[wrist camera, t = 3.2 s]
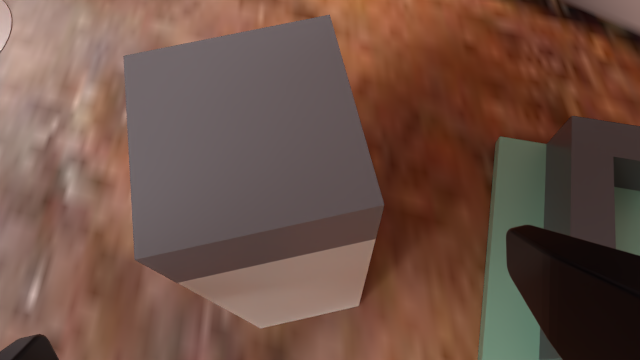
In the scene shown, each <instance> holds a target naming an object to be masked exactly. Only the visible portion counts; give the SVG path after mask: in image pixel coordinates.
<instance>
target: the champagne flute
mask: <svg viewBox="0 0 640 360" xmlns="http://www.w3.org/2000/svg"><path fill="white" fill-rule="evenodd" d="M11 21H12V18H11V14H10V10H9V8H8V7H7V5H6V3H5V2H4V1H3V0H0V51H1V50H2V48H3V47H4V45H5V43H6V41H7V39H8V37H9V34H10V30H11Z"/></svg>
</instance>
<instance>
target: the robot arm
mask: <svg viewBox="0 0 640 360" xmlns="http://www.w3.org/2000/svg"><path fill="white" fill-rule="evenodd" d="M506 261H507V269H508V272H509V275H510V277H511V279H512V280H513V282H514V284H515V285H516V287H517V289H518V291H519V292H520V294H521V296H522V297H523V299H524V301H525V302H526V304H527V306H528V307H529V309H530V311H531V312H532V314H533V316H534V318H535V319H536V321H537V323H538V324H539V326H540V328H541V329H542V331H543V333H544V334H545V336H546V337H547V339H548V340H549V342H550V343H551V345H552V346H553V348H554V349H555V350H556V352H557V353H558V354H559V356H560V357H561V358H562V360H640V256H639V255H636V254H632V253H628V252H625V251H621V250H618V249H614V248H611V247H607V246H604V245H600V244H597V243H593V242H589V241H586V240H582V239H579V238H575V237H572V236H568V235H565V234H561V233H558V232H554V231H550V230H547V229H543V228H540V227H536V226H533V225H522V226H518V227H513V228H510V229H509V230H508V231H507V233H506ZM0 360H59V359H58V357H57V355H56V353H55V351H54V349H53V348H52V346H51V344H50V342H49V340H48V339H47V337H46V336H44V335H41V334H37V335H33V336H28V337H24V338H20V339H18V340H16V341H15V342H13V343H12V344H10V345H9V346H7V347H6V348H5V349H3V350H2V351H0Z"/></svg>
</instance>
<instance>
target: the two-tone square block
mask: <svg viewBox="0 0 640 360" xmlns="http://www.w3.org/2000/svg"><path fill="white" fill-rule="evenodd" d="M124 73H125V91H126V110H127V128H128V146H129V165H130V183H131V201H132V220H133V238H134V256H135V260H136V261H138V262H140V263H142V264H143V265H145V266H147V267H149V268H151V269H153V270H154V271H156V272H158V273H160V274H162V275H164V276H165V277H167V278H169V279H171V280H173V281H175V282H176V283H178V284H180V285H182V286H184V287H186V288H187V289H189V290H191V291H193V292H195V293H197V294H198V295H200V296H202V297H204V298H206V299H208V300H209V301H211V302H213V303H215V304H217V305H219V306H220V307H222V308H224V309H226V310H228V311H230V312H231V313H233V314H235V315H237V316H239V317H241V318H242V319H244V320H246V321H248V322H250V323H252V324H253V325H255V326H257V327H259V328H265V327H269V326H274V325H278V324H282V323H287V322H291V321H296V320H300V319H304V318H309V317H313V316H318V315H322V314H326V313H331V312H335V311H339V310H344V309H348V308H353V307H357V306H359V303H360V299H361V295H362V291H363V287H364V283H365V279H366V275H367V272H368V268H369V264H370V260H371V256H372V252H373V248H374V244H375V240H376V236H377V232H378V228H379V224H380V220H381V216H382V213H383V209H384V202H383V199H382V195H381V192H380V188H379V185H378V181H377V178H376V174H375V171H374V167H373V164H372V160H371V157H370V153H369V150H368V146H367V143H366V139H365V136H364V132H363V129H362V126H361V122H360V119H359V115H358V112H357V108H356V105H355V101H354V98H353V94H352V91H351V87H350V84H349V80H348V77H347V73H346V70H345V66H344V63H343V59H342V56H341V53H340V49H339V46H338V42H337V39H336V35H335V32H334V28H333V25H332V21H331V18H330V15H326V16H321V17H316V18H311V19H306V20H301V21H296V22H291V23H286V24H281V25H276V26H271V27H266V28H261V29H256V30H251V31H246V32H241V33H236V34H231V35H226V36H221V37H216V38H211V39H206V40H201V41H196V42H191V43H186V44H181V45H176V46H171V47H166V48H161V49H156V50H151V51H146V52H141V53H136V54H131V55H126V56H124Z"/></svg>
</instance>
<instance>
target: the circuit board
mask: <svg viewBox="0 0 640 360" xmlns="http://www.w3.org/2000/svg"><path fill="white" fill-rule="evenodd" d="M522 225H533V226H536V227H540V228H543V229H547V230H550V231H554V232H558V233H561V234H565V235H568V236H572V237H575V238H579V239H582V240H586V241H589V242H593V243H597V244H600V245H604V246H607V247H611V248H614V249H618V250H621V251H625V252H628V253H632V254H636V255H639V256H640V126H634V125H628V124H621V123H615V122H609V121H602V120H596V119H590V118H583V117H577V116H571V117H570V118H569V120H568V121H567V122H566V123H565V124H564V125H563V126H562V127H561V128H560V130H559V131H558V132H557V133H556V134H555V135H554V136H553V137H552V139H551V140H550V141H549V142H548V143H547V144H543V143H537V142H531V141H525V140H519V139H513V138H507V137H501V136H500V137H499V138H498V140H497V141H496V144H495V156H494V168H493V180H492V193H491V205H490V217H489V229H488V241H487V253H486V265H485V278H484V290H483V302H482V314H481V326H480V338H479V350H478V360H562V358H561V357H560V356H559V354H558V353H557V352H556V350H555V349H554V348H553V346H552V345H551V343H550V342H549V340H548V339H547V337H546V336H545V334H544V333H543V331H542V329H541V328H540V326H539V324H538V323H537V321H536V319H535V318H534V316H533V314H532V312H531V311H530V309H529V307H528V306H527V304H526V302H525V301H524V299H523V297H522V296H521V294H520V292H519V291H518V289H517V287H516V285H515V284H514V282H513V280H512V279H511V277H510V275H509V272H508V269H507V261H506V233H507V231H508V230H509V229H510V228H513V227H518V226H522Z"/></svg>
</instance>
